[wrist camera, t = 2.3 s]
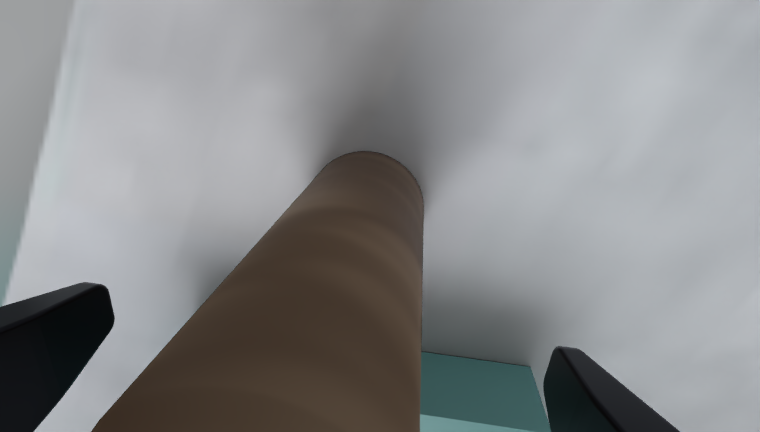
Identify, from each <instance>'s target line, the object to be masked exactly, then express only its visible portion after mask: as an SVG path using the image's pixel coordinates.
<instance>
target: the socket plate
mask: <svg viewBox="0 0 760 432" xmlns="http://www.w3.org/2000/svg"><path fill="white" fill-rule="evenodd" d="M420 432H551V430H550V425H549V422H548V419H547V416H546V413H545V410H544V407H543V404H542V401H541V398H540V395H539V392H538V389H537V386H536V383H535V380H534V377H533V374H532V371H531V368H530V367H527V366H520V365H513V364H505V363H498V362H491V361H484V360H477V359H470V358H462V357H455V356H448V355H441V354H434V353H427V352H421V395H420Z"/></svg>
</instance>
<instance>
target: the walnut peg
mask: <svg viewBox="0 0 760 432" xmlns="http://www.w3.org/2000/svg"><path fill="white" fill-rule="evenodd" d="M423 218H424V205H423V197H422V193H421V190H420V187H419V185H418V183H417V181H416V179H415V178H414V177H413V175H412V174H411V173H410V172H409V171H408V169H407V168H406V167H404V166H403V165H402V164H401V163H399V162H398V161H396V160H395V159H393V158H391V157H389V156H386V155H383V154H380V153H376V152H369V151H360V152H352V153H348V154H345V155H343V156H340V157H338V158H336V159H334V160H333V161H332V162H330V163H329V164H328V165H327V166H326V167H325V168H324V169H323V170H322V171H321V172H320V173H319V174H318V175H317V176H316V178H315V179H314V180H313V181H312V182H311V183H310V184H309V185H308V187H307V188H306V189H305V190H304V191H303V192H302V193H301V194H300V196H299V197H298V198H297V199H296V200H295V201H294V202H293V203H292V204H291V206H290V207H289V208H288V209H287V210H286V211H285V212H284V213H283V215H282V216H281V217H280V218H279V219H278V220H277V221H276V222H275V224H274V225H273V226H272V227H271V228H270V229H269V230H268V231H267V233H266V234H265V235H264V236H263V237H262V238H261V239H260V240H259V242H258V243H257V244H256V245H255V246H254V247H253V248H252V249H251V251H250V252H249V253H248V254H247V255H246V256H245V257H244V258H243V260H242V261H241V262H240V263H239V264H238V265H237V266H236V267H235V269H234V270H233V271H232V272H231V273H230V274H229V275H228V276H227V278H226V279H225V280H224V281H223V282H222V283H221V284H220V285H219V287H218V288H217V289H216V290H215V291H214V292H213V293H212V294H211V295H210V297H209V298H208V299H207V300H206V301H205V302H204V303H203V304H202V306H201V307H200V308H199V309H198V310H197V311H196V312H195V313H194V315H193V316H192V317H191V318H190V319H189V320H188V321H187V322H186V324H185V325H184V326H183V327H182V328H181V329H180V330H179V331H178V333H177V334H176V335H175V336H174V337H173V338H172V339H171V340H170V342H169V343H168V344H167V345H166V346H165V347H164V348H163V349H162V351H161V352H160V353H159V354H158V355H157V356H156V357H155V358H154V360H153V361H152V362H151V363H150V364H149V365H148V366H147V367H146V369H145V370H144V371H143V372H142V373H141V374H140V375H139V376H138V378H137V379H136V380H135V381H134V382H133V383H132V384H131V385H130V386H129V388H128V389H127V390H126V391H125V392H124V393H123V394H122V395H121V397H120V398H119V399H118V400H117V401H116V402H115V403H114V404H113V406H112V407H111V408H110V409H109V410H108V411H107V412H106V413H105V415H104V416H103V417H102V418H101V419H100V420H99V421H98V423H97V424H96V426H95V427H94V429H93V430H92V431H91V432H420V395H421V336H422V277H423Z"/></svg>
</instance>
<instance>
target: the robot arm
mask: <svg viewBox="0 0 760 432" xmlns="http://www.w3.org/2000/svg"><path fill="white" fill-rule="evenodd" d="M114 319H115V318H114V312H113V308H112V303H111V299H110V295H109V291H108V289H107V288H106V286H104V285H102V284H96V283H88V282H83V283H79V284H75V285H72V286H69V287H65V288H62V289H59V290H55V291H52V292H49V293H45V294H42V295H39V296H36V297H32V298H29V299H26V300H22V301H19V302H16V303H12V304H9V305H6V306H2V307H0V432H34V430H35V429H36V428H37V427H38V426H39V425H40V423H41V422H42V421H43V420H44V419H45V418H46V416H47V415H48V414H49V413H50V412H51V411H52V409H53V408H54V407H55V406H56V404H57V403H58V402H59V401H60V400H61V398H62V397H63V396H64V395H65V393H66V392H67V391H68V389H69V388H70V387H71V385H72V384H73V382H74V381H75V380H76V378H77V377H78V375H79V374H80V373H81V371H82V370H83V368H84V367H85V366H86V364H87V363H88V361H89V360H90V359H91V357H92V356H93V354H94V353H95V352H96V350H97V349H98V348H99V346H100V345H101V343H102V342H103V341H104V339H105V338H106V336H107V335H108V334H109V332H110V331H111V329H112V327H113V325H114ZM543 387H544V396H545V401H546V407H547V413H548V418H549V424H550V430H551V432H680V431H679V430H677V429H676V428H675V427H674V426H672V425H671V424H670V423H669V422H668V421H666V420H665V419H664V418H663V417H662V416H660V415H659V414H658V413H657V412H655V411H654V410H653V409H652V408H651V407H649V406H648V405H647V404H646V403H644V402H643V401H642V400H641V399H640V398H638V397H637V396H636V395H635V394H634V393H632V392H631V391H630V390H629V389H627V388H626V387H625V386H624V385H623V384H621V383H620V382H619V381H618V380H617V379H615V378H614V377H613V376H612V375H610V374H609V373H608V372H607V371H606V370H604V369H603V368H602V367H601V366H599V365H598V364H597V363H596V362H595V361H593V360H592V359H591V358H590V357H589V356H587V355H586V354H585V353H584V352H582V351H581V350H579V349H577V348H570V347H562V346H558V347H556V348H555V349H554V350H553V353H552V356H551V359H550V362H549V365H548V368H547V371H546V374H545V378H544V386H543Z"/></svg>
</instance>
